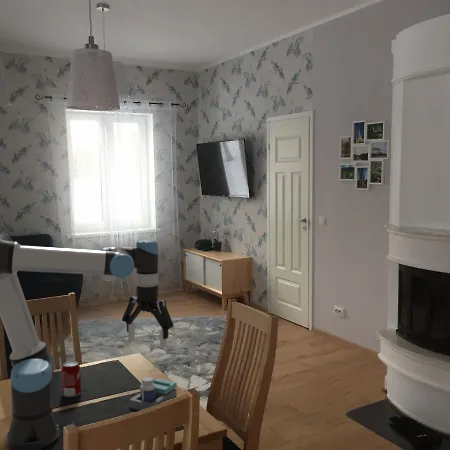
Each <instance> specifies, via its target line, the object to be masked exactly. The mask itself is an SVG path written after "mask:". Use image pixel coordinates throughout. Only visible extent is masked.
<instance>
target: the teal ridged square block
mask: <svg viewBox="0 0 450 450" xmlns="http://www.w3.org/2000/svg"><path fill="white" fill-rule="evenodd" d="M153 384H155V386H156V393H161V394H167V393H168V392H170V391H171V390H173V389H176V388H177V382H176V381H172V380H167V379H163V378H155V379H154V383H153Z"/></svg>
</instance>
